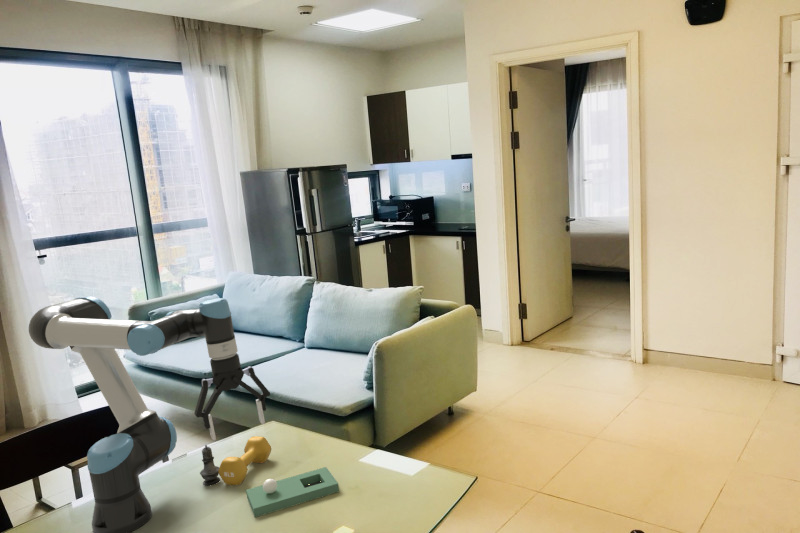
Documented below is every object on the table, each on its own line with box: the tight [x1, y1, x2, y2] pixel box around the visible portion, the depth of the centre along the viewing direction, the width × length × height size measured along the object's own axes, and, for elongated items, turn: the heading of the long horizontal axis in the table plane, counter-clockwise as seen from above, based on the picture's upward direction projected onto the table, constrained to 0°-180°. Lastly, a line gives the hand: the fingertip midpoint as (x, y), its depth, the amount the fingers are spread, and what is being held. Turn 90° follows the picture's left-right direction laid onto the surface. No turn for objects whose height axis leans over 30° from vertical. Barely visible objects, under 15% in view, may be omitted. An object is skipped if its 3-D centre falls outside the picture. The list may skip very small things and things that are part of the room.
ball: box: [262, 478, 277, 494], centre depth 173 cm, size 4×4×4 cm
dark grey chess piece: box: [199, 444, 221, 487], centre depth 189 cm, size 6×6×12 cm
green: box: [245, 466, 340, 518], centre depth 176 cm, size 24×12×2 cm, turn 114°
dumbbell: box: [218, 435, 272, 486], centre depth 193 cm, size 19×9×8 cm, turn 162°
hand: (238, 430), depth 169 cm, fingers open, 13 cm apart
